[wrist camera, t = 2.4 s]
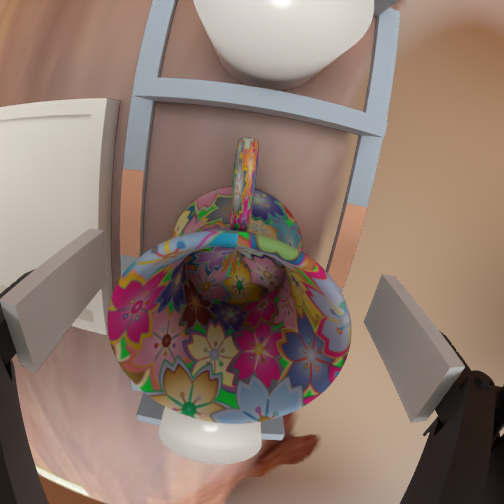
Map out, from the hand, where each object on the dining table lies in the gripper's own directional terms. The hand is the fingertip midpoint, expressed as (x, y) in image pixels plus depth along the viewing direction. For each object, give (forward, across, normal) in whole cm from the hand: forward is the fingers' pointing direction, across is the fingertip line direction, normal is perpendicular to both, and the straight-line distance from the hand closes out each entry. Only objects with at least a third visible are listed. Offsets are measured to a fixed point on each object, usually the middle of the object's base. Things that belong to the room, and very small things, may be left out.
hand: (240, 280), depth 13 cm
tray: (+7, -19, -1) cm, 20 cm away
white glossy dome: (+7, 0, +13) cm, 14 cm away
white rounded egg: (+7, 0, -12) cm, 14 cm away
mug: (+7, 0, 0) cm, 7 cm away
